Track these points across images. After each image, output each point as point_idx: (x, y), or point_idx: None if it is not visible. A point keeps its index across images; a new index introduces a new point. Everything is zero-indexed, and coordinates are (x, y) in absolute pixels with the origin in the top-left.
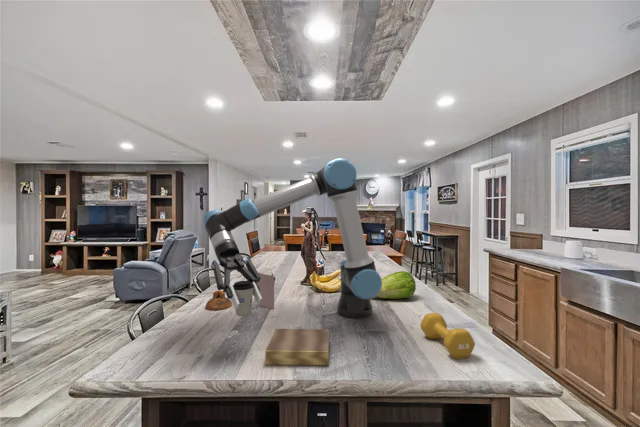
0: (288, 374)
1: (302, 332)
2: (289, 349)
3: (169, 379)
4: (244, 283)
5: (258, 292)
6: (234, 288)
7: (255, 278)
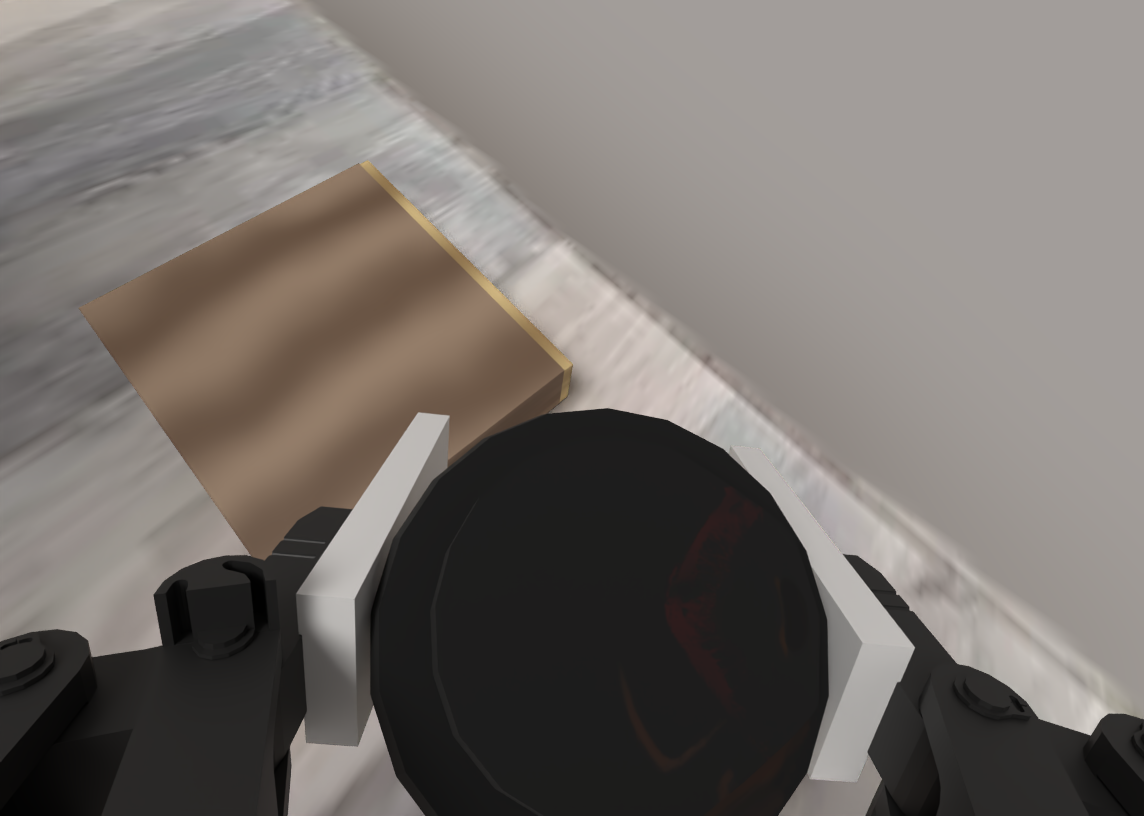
0: (547, 273)
1: (227, 392)
2: (473, 288)
3: (989, 617)
4: (647, 487)
5: (405, 456)
6: (813, 585)
7: (166, 670)
